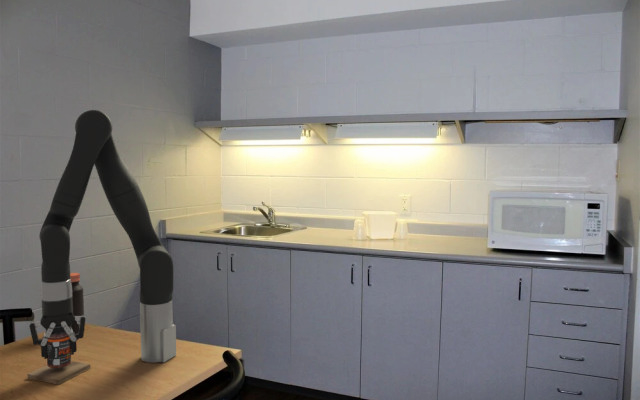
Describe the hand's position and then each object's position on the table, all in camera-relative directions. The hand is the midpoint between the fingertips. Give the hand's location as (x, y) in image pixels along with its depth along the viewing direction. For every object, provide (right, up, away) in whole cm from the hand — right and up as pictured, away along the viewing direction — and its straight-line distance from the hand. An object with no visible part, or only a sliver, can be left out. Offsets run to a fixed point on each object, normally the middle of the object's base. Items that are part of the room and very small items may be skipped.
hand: (59, 355), depth 143 cm
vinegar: (-12, -2, +33) cm, 35 cm away
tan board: (0, -5, 0) cm, 5 cm away
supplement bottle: (0, -3, 0) cm, 3 cm away
